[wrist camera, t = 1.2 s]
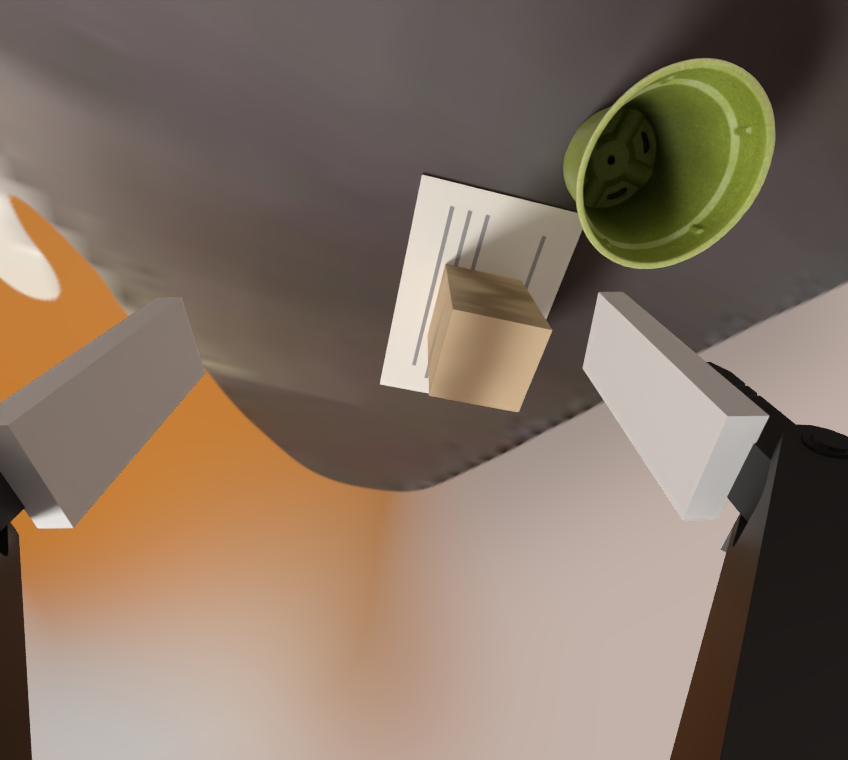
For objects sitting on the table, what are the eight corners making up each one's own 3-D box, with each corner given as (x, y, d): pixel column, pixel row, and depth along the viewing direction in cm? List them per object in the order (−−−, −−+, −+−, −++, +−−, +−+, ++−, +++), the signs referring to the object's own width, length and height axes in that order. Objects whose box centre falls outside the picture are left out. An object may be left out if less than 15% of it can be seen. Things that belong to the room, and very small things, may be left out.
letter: (587, 215, 30) (587, 215, 30) (510, 407, 39) (510, 408, 39) (422, 174, 29) (422, 174, 29) (379, 383, 38) (379, 384, 37)
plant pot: (693, 193, 30) (783, 217, 22) (562, 256, 32) (605, 297, 25) (665, 42, 25) (766, 9, 18) (517, 127, 28) (551, 129, 20)
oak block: (521, 280, 33) (552, 330, 25) (497, 349, 36) (518, 412, 28) (445, 263, 32) (452, 309, 24) (427, 335, 35) (428, 395, 27)
